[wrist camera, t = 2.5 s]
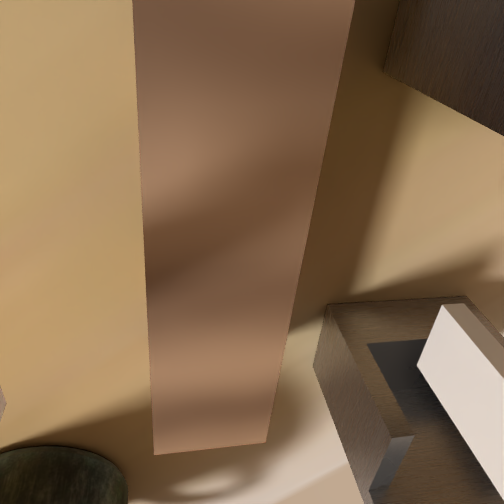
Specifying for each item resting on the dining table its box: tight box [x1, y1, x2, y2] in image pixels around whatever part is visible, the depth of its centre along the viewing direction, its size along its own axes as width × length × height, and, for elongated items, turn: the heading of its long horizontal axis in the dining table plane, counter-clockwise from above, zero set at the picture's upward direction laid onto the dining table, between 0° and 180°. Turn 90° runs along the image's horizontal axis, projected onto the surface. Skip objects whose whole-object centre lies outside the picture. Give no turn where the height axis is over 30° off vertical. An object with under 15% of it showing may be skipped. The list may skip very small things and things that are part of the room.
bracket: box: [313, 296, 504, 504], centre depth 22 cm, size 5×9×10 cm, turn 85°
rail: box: [132, 0, 355, 455], centre depth 17 cm, size 18×5×6 cm, turn 174°
